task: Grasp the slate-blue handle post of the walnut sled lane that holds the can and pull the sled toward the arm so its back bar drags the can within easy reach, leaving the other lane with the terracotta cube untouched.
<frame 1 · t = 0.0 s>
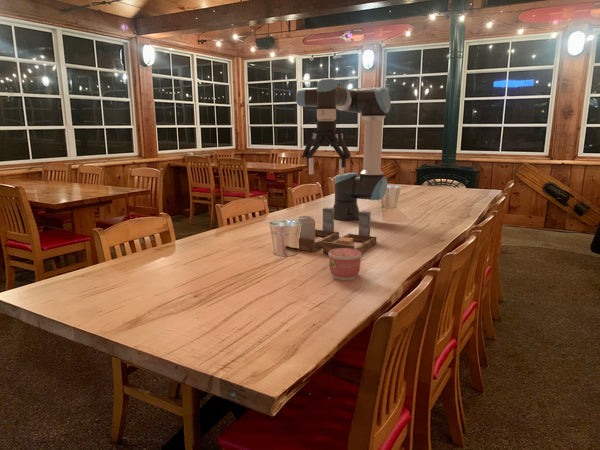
hand: (325, 175, 175), 28 cm above the table, fingers open, 13 cm apart
lane b: (353, 231, 173), point 6 cm above the table, slide at 0.0 cm
can: (305, 246, 176), resting in lane a
container: (344, 276, 141), on the table
cube: (345, 251, 168), resting in lane b
lane a: (315, 227, 181), point 6 cm above the table, slide at 0.0 cm
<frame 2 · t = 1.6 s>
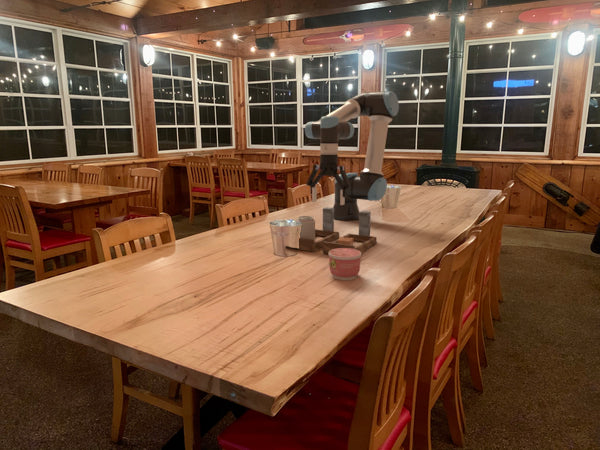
hand: (328, 203, 189), 14 cm above the table, fingers open, 13 cm apart
nothing on the table moved.
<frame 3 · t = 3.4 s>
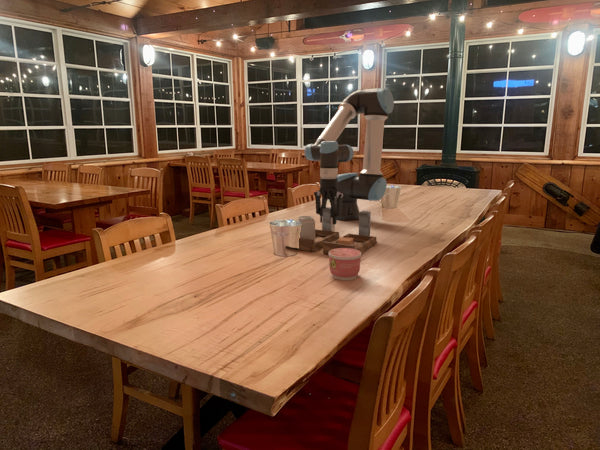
hand: (328, 230, 192), 2 cm above the table, fingers closed on lane a, 3 cm apart
lane a: (315, 227, 181), point 6 cm above the table, slide at 0.0 cm, touching gripper
everything else where it was.
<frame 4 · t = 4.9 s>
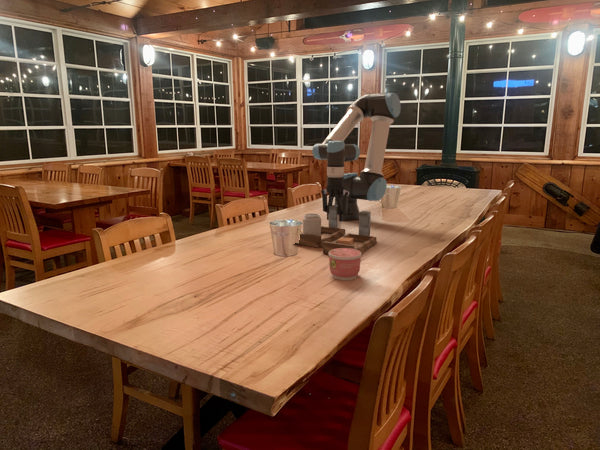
hand: (334, 227, 198), 2 cm above the table, fingers closed on lane a, 3 cm apart
can: (312, 243, 180), resting in lane a
lane a: (322, 224, 187), point 6 cm above the table, slide at 6.4 cm, touching can, gripper
everything else where it was.
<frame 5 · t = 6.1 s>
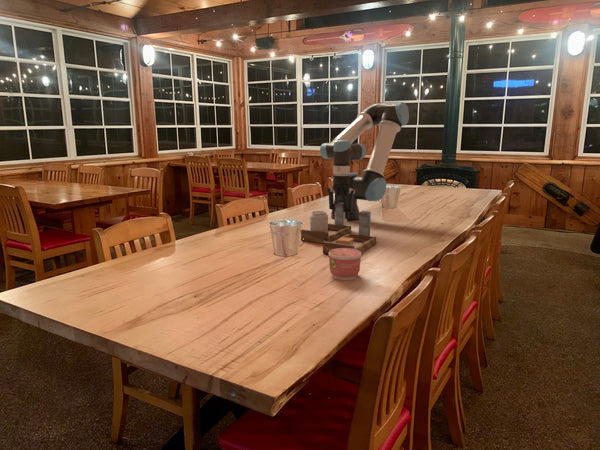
hand: (340, 224, 203), 2 cm above the table, fingers closed on lane a, 3 cm apart
can: (318, 239, 186), resting in lane a
lane a: (329, 221, 192), point 6 cm above the table, slide at 12.8 cm, touching can, gripper
everything else where it was.
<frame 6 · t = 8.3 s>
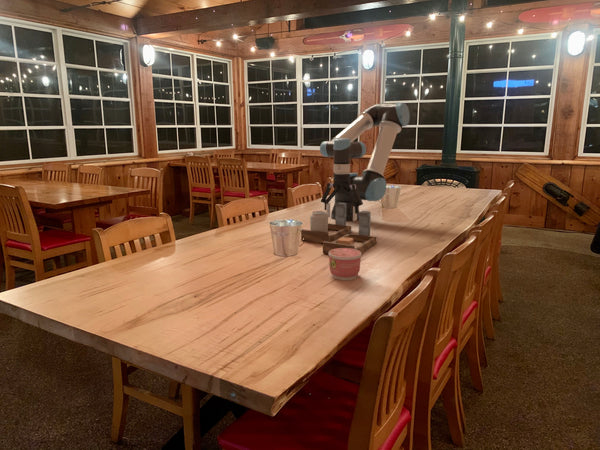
hand: (341, 218, 203), 5 cm above the table, fingers open, 13 cm apart
can: (319, 239, 186), resting in lane a
lane a: (329, 221, 192), point 6 cm above the table, slide at 12.9 cm
everything else where it was.
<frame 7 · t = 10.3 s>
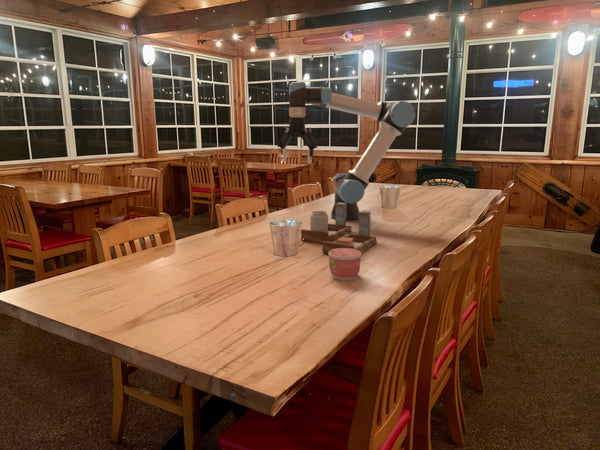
hand: (296, 162, 208), 30 cm above the table, fingers open, 13 cm apart
nothing on the table moved.
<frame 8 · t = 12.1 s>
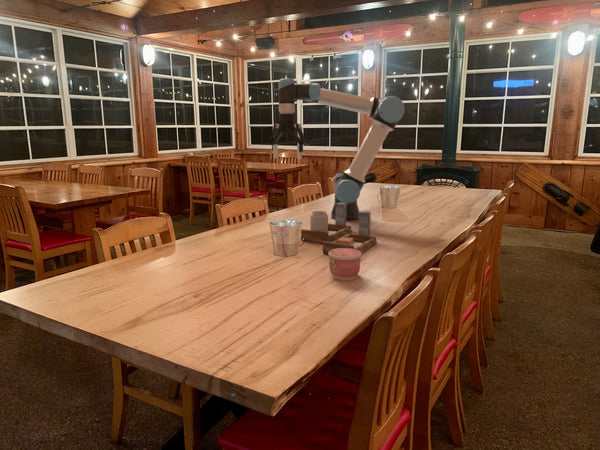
hand: (287, 158, 211), 32 cm above the table, fingers open, 13 cm apart
nothing on the table moved.
at the end: lane a slide at 12.9 cm; can moved 11.8 cm from its start; can tilted 0° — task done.
